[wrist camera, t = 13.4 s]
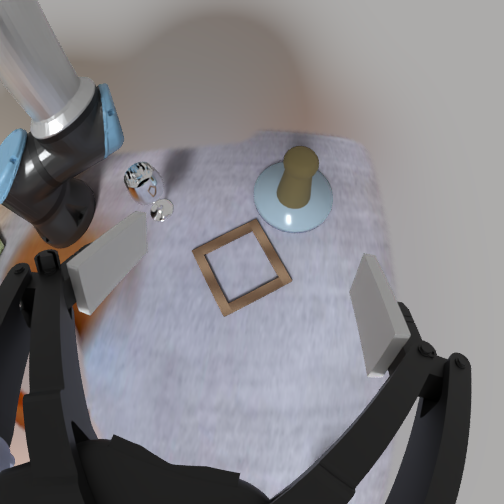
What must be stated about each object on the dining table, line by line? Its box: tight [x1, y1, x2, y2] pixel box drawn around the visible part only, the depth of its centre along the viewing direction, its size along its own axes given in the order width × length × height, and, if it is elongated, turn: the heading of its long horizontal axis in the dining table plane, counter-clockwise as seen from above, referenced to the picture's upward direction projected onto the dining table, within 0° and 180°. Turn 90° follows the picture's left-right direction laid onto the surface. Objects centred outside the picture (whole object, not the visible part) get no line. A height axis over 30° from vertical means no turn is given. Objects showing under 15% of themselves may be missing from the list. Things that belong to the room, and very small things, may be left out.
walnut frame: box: [192, 219, 292, 317], centre depth 44 cm, size 12×12×1 cm
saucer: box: [254, 162, 333, 233], centre depth 47 cm, size 14×14×1 cm
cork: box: [276, 146, 319, 209], centre depth 41 cm, size 6×6×11 cm
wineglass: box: [124, 162, 173, 221], centre depth 42 cm, size 6×6×12 cm
